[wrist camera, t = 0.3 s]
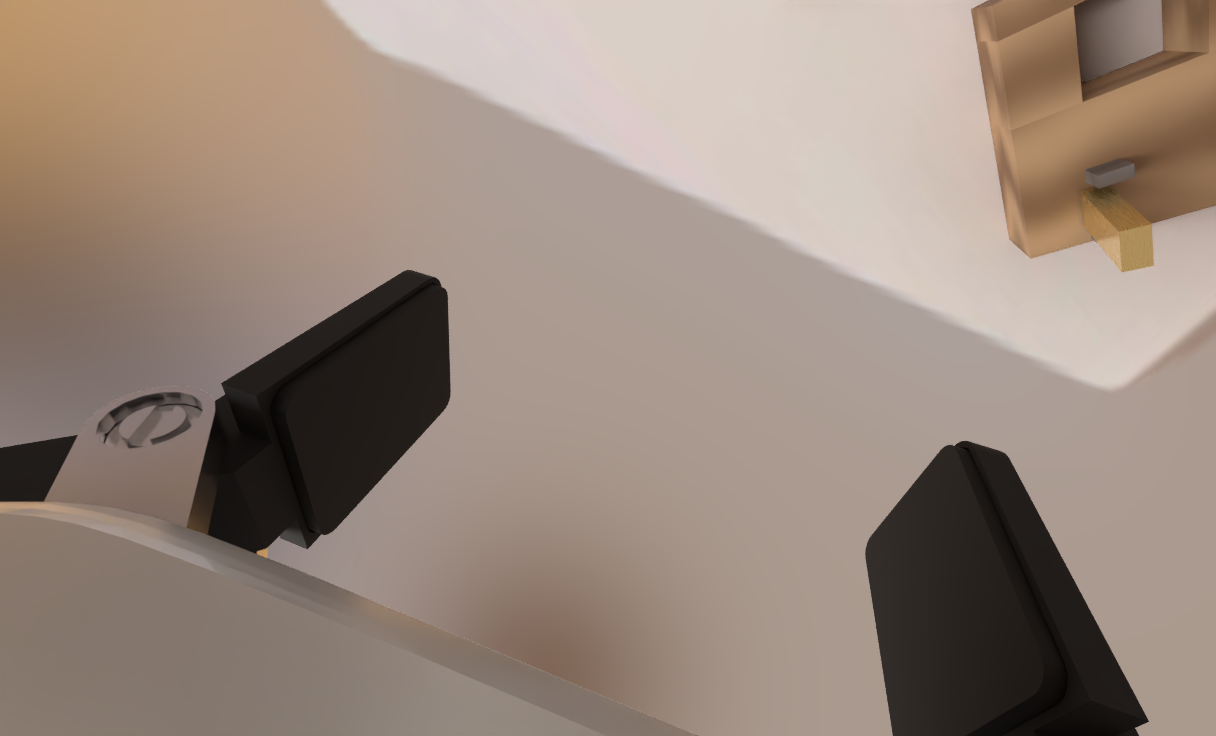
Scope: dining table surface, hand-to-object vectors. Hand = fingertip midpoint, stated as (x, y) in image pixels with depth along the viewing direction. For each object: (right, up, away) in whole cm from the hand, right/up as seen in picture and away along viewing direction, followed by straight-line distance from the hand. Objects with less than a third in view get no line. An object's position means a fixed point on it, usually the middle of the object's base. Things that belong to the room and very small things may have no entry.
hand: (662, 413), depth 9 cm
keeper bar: (+29, +9, +19) cm, 35 cm away
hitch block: (+31, +18, +22) cm, 42 cm away
